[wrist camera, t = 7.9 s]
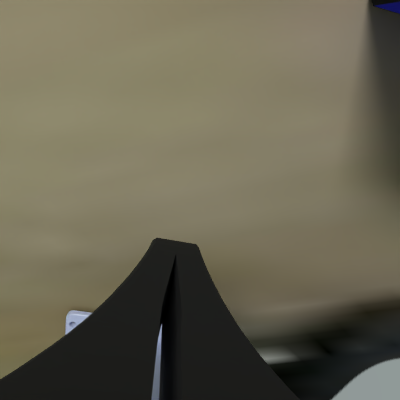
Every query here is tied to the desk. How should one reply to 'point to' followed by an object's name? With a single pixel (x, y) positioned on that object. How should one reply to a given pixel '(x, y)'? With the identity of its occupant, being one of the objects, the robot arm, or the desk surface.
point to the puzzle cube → (388, 5)
